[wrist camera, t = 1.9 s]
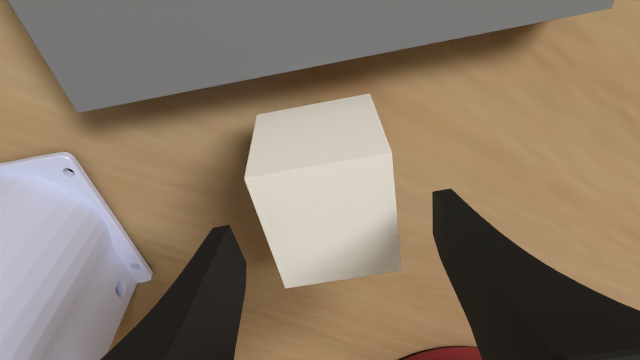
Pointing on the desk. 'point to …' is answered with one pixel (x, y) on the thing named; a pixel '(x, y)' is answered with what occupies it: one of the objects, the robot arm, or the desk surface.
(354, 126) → the plug
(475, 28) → the socket
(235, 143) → the desk surface
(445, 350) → the canister
